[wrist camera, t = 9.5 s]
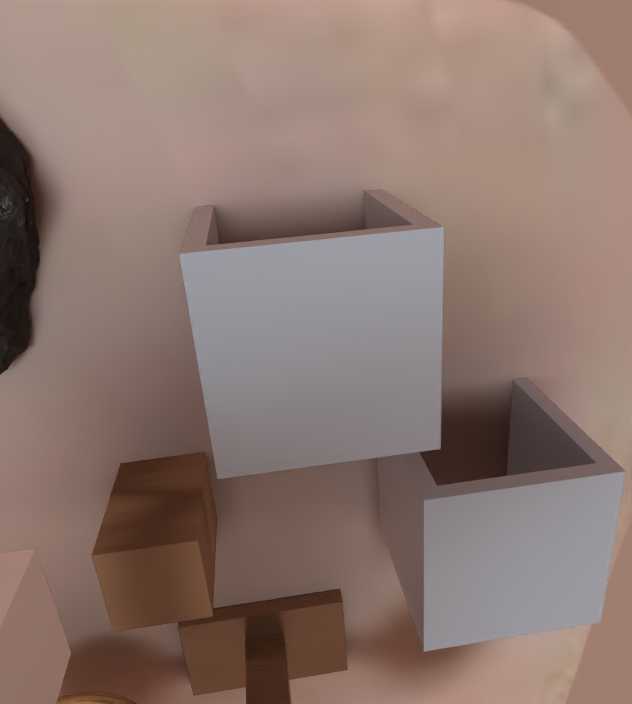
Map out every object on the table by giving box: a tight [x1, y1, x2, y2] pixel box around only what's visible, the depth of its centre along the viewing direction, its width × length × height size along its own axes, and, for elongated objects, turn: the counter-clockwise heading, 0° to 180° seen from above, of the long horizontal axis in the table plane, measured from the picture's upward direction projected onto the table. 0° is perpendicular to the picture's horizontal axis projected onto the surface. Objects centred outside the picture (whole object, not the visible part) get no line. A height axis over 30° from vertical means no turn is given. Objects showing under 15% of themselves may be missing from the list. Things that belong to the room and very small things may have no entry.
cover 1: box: [179, 189, 444, 479], centre depth 25 cm, size 9×9×9 cm
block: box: [92, 452, 217, 632], centre depth 29 cm, size 4×4×7 cm
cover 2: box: [377, 378, 626, 652], centre depth 30 cm, size 9×9×9 cm
